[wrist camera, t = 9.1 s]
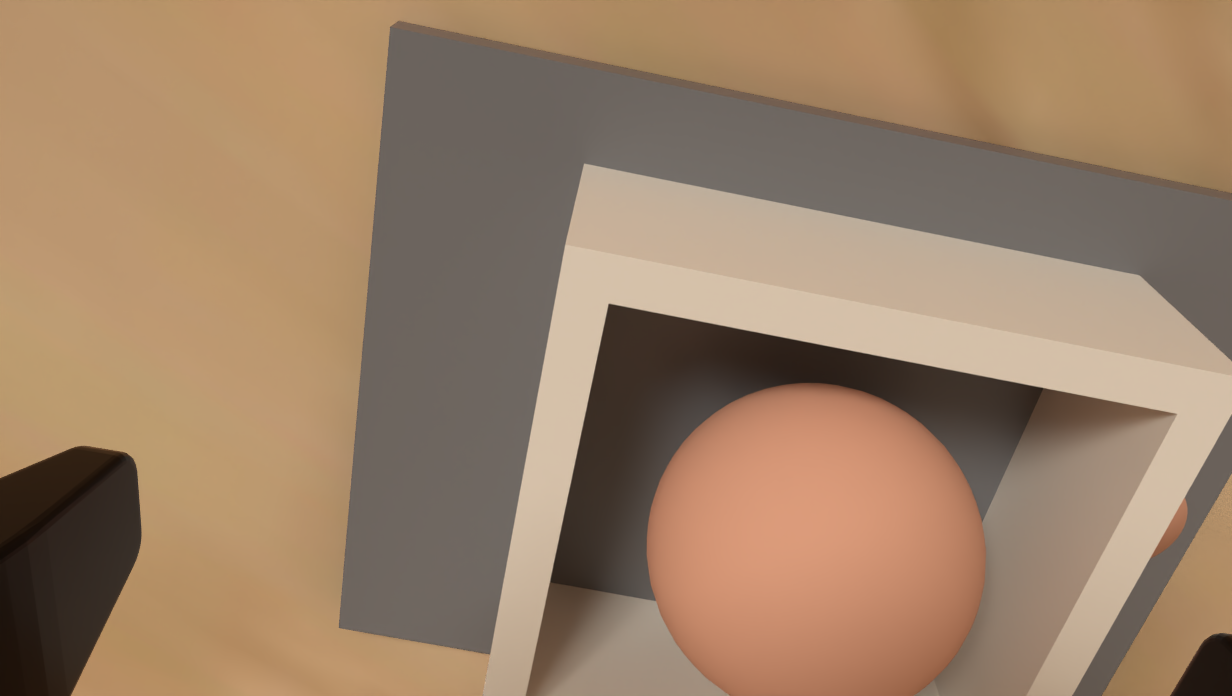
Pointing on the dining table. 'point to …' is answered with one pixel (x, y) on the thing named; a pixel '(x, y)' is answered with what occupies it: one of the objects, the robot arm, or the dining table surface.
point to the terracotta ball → (816, 546)
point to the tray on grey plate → (758, 357)
